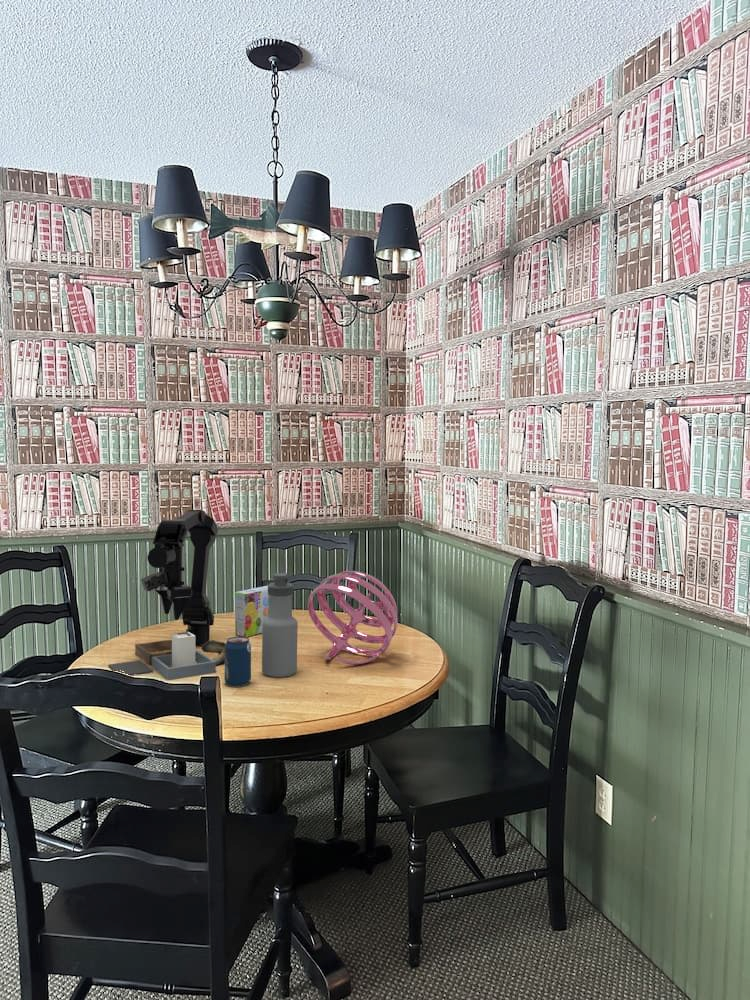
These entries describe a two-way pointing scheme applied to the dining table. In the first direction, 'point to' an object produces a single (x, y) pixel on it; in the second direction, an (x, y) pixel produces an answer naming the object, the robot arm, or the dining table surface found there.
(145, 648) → the frame
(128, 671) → the dark grey flat slab
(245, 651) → the soda can
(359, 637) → the spiral basket
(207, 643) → the eagle figurine
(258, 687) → the dining table surface
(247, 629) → the snack box
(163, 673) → the frame
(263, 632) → the water bottle
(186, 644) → the letter block
